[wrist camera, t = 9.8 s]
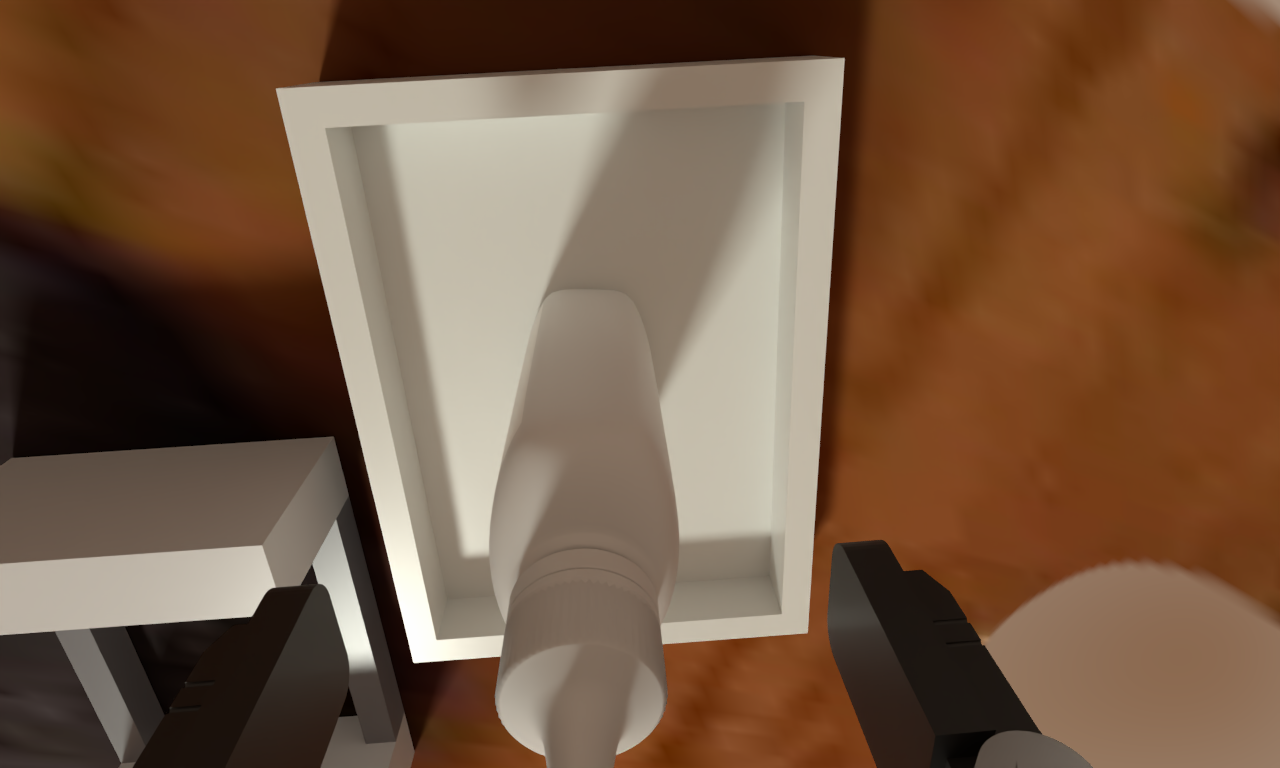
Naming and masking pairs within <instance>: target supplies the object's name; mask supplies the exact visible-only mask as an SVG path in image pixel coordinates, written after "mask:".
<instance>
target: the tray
mask: <svg viewBox="0 0 1280 768" xmlns="http://www.w3.org/2000/svg"><path fill="white" fill-rule="evenodd" d="M844 62H845V58H838V57H826V56H813V55H812V56H793V57H775V58H756V59H737V60H719V61H700V62H681V63H663V64H644V65H625V66H607V67H588V68H569V69H551V70H532V71H513V72H495V73H476V74H458V75H439V76H420V77H402V78H383V79H364V80H346V81H327V82H315V83H308V84H302V85H296V86H289V87H283V88H277V89H276V91H277V96H278V100H279V104H280V108H281V112H282V116H283V121H284V125H285V129H286V133H287V137H288V142H289V146H290V150H291V154H292V158H293V162H294V167H295V171H296V175H297V179H298V183H299V187H300V192H301V196H302V200H303V204H304V208H305V212H306V217H307V221H308V225H309V229H310V233H311V238H312V242H313V246H314V250H315V254H316V258H317V263H318V267H319V271H320V275H321V279H322V283H323V288H324V292H325V296H326V300H327V304H328V309H329V313H330V317H331V321H332V325H333V329H334V334H335V338H336V342H337V346H338V350H339V354H340V359H341V363H342V367H343V371H344V375H345V379H346V384H347V388H348V392H349V396H350V400H351V405H352V409H353V413H354V417H355V421H356V425H357V430H358V434H359V438H360V442H361V446H362V450H363V455H364V459H365V463H366V467H367V471H368V475H369V480H370V484H371V488H372V492H373V496H374V501H375V505H376V509H377V513H378V517H379V521H380V526H381V530H382V534H383V538H384V542H385V546H386V551H387V555H388V559H389V563H390V567H391V571H392V576H393V580H394V584H395V588H396V592H397V597H398V601H399V605H400V609H401V613H402V617H403V622H404V626H405V630H406V634H407V638H408V642H409V647H410V651H411V655H412V659H413V663H420V662H434V661H447V660H460V659H473V658H486V657H499V656H501V652H502V646H503V639H504V633H505V626H506V624H505V622H504V619H503V617H502V614H501V612H500V609H499V607H498V603H497V600H496V596H495V593H494V588H493V583H492V577H491V569H490V559H489V536H490V521H491V514H492V506H493V500H494V494H495V489H496V485H497V480H498V475H499V470H500V465H501V460H502V456H503V451H504V446H505V442H506V437H507V433H508V428H509V424H510V419H511V415H512V410H513V406H514V401H515V397H516V392H517V388H518V383H519V379H520V374H521V370H522V366H523V361H524V357H525V352H526V348H527V344H528V340H529V336H530V333H531V330H532V327H533V324H534V321H535V319H536V316H537V314H538V311H539V309H540V307H541V305H542V303H543V301H544V300H545V299H546V298H547V297H548V296H549V295H550V294H551V293H552V292H556V291H559V290H563V289H592V290H616V291H619V292H622V293H625V294H627V295H628V296H629V298H630V299H631V300H632V301H633V302H634V304H635V306H636V308H637V310H638V312H639V314H640V317H641V319H642V322H643V325H644V328H645V331H646V334H647V338H648V342H649V346H650V351H651V356H652V362H653V368H654V373H655V379H656V385H657V391H658V396H659V402H660V408H661V414H662V419H663V425H664V431H665V437H666V443H667V449H668V454H669V460H670V466H671V472H672V478H673V484H674V491H675V497H676V505H677V514H678V522H679V561H678V570H677V577H676V582H675V587H674V592H673V595H672V599H671V602H670V605H669V608H668V610H667V613H666V616H665V618H664V620H663V622H662V624H661V626H660V627H661V636H662V644H671V643H684V642H697V641H710V640H723V639H736V638H750V637H763V636H776V635H789V634H802V633H808V620H809V604H810V589H811V573H812V558H813V542H814V527H815V511H816V496H817V480H818V465H819V449H820V434H821V418H822V403H823V387H824V372H825V356H826V341H827V325H828V310H829V294H830V279H831V264H832V248H833V233H834V217H835V202H836V186H837V171H838V155H839V140H840V124H841V109H842V93H843V78H844Z"/></svg>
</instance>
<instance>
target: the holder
mask: <svg viewBox="0 0 1280 768" xmlns="http://www.w3.org/2000/svg"><path fill="white" fill-rule="evenodd" d="M312 563H313V567H314V570H315V574H316V577H317V580H318V584H323V585H324V586H325V587H326V588H327V590H328V592H329V594H330V598H331V601H332V604H333V608H334V611H335V614H336V618H337V621H338V624H339V628H340V631H341V634H342V638H343V641H344V644H345V648H346V651H347V655H348V659H349V685H348V686H349V689H350V692H351V696H352V699H353V702H354V706H355V709H356V713H357V716H347V717H339V718H338V721H337V724H336V726H335V729H334V732H333V735H332V737H331V740H330V743H329V746H328V748H327V751H326V754H325V757H324V759H323V762H322V765H321V768H411V764H412V760H413V756H414V752H415V751H414V748H413V744H412V740H411V736H410V732H409V728H408V724H407V720H406V716H405V712H404V709H403V705H402V701H401V697H400V693H399V689H398V685H397V681H396V677H395V673H394V670H393V666H392V662H391V658H390V654H389V650H388V646H387V642H386V638H385V634H384V631H383V627H382V623H381V619H380V615H379V611H378V607H377V603H376V599H375V595H374V591H373V588H372V584H371V580H370V576H369V572H368V568H367V564H366V560H365V556H364V552H363V549H362V545H361V541H360V537H359V533H358V529H357V525H356V521H355V517H354V513H353V510H352V506H351V502H350V498H349V494H348V490H347V486H346V482H345V478H344V474H343V471H342V467H341V463H340V459H339V455H338V451H337V447H336V443H335V439H334V437H319V438H304V439H289V440H274V441H259V442H244V443H230V444H215V445H200V446H185V447H170V448H155V449H140V450H125V451H110V452H95V453H81V454H66V455H51V456H36V457H21V458H11V459H10V460H8V461H7V462H5V463H4V464H3V465H1V466H0V635H8V634H21V633H35V632H49V631H55V632H56V634H57V636H58V638H59V640H60V642H61V644H62V646H63V648H64V650H65V652H66V654H67V656H68V658H69V660H70V662H71V664H72V666H73V668H74V670H75V672H76V674H77V676H78V678H79V680H80V682H81V684H82V685H83V687H84V689H85V691H86V693H87V695H88V697H89V699H90V701H91V703H92V705H93V707H94V709H95V711H96V713H97V715H98V717H99V719H100V721H101V723H102V725H103V727H104V729H105V731H106V733H107V735H108V737H109V739H110V741H111V743H112V745H113V747H114V749H115V751H116V753H117V755H118V757H119V759H120V761H121V763H122V764H121V765H120V767H119V768H133V766H134V764H135V763H136V761H137V759H138V758H139V756H140V755H141V753H142V751H143V750H144V748H145V746H146V745H147V743H148V742H149V740H150V738H151V737H152V735H153V734H154V732H155V730H156V729H157V727H158V725H159V724H160V722H161V721H162V719H163V717H164V716H165V715H164V713H163V710H162V708H161V706H160V704H159V702H158V699H157V697H156V695H155V693H154V690H153V688H152V686H151V684H150V682H149V679H148V677H147V675H146V673H145V670H144V668H143V666H142V664H141V662H140V659H139V657H138V655H137V653H136V651H135V648H134V646H133V644H132V642H131V639H130V637H129V635H128V633H127V631H126V628H125V626H130V625H144V624H157V623H171V622H184V621H198V620H211V619H225V618H238V617H252V616H253V614H254V612H255V611H256V609H257V607H258V605H259V604H260V602H261V600H262V598H263V597H264V595H265V594H266V592H267V591H268V590H270V589H271V588H276V587H288V586H300V585H301V583H302V581H303V579H304V577H305V575H306V574H307V572H308V570H309V568H310V566H311V564H312Z"/></svg>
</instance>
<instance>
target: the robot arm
mask: <svg viewBox="0 0 1280 768" xmlns="http://www.w3.org/2000/svg"><path fill="white" fill-rule="evenodd" d="M828 633H829V640H830V645H831V649H832V653H833V656H834V659H835V661H836V664H837V666H838V669H839V672H840V674H841V677H842V679H843V682H844V684H845V687H846V689H847V692H848V694H849V697H850V700H851V702H852V705H853V707H854V710H855V712H856V715H857V717H858V720H859V723H860V725H861V728H862V730H863V733H864V735H865V738H866V740H867V743H868V746H869V748H870V751H871V753H872V756H873V758H874V761H875V763H876V766H877V768H1093V767H1092V766H1091V765H1090V764H1089V763H1088V762H1087V761H1086V760H1085V759H1084V758H1083V757H1082V756H1081V755H1079V754H1078V753H1077V752H1075V751H1074V750H1073V749H1071V748H1070V747H1068V746H1066V745H1064V744H1063V743H1061V742H1059V741H1057V740H1055V739H1053V738H1050V737H1048V736H1044V735H1042V733H1041V732H1040V731H1039V729H1038V728H1037V726H1036V725H1035V723H1034V722H1033V720H1032V719H1031V717H1030V715H1029V714H1028V713H1027V711H1026V709H1025V708H1024V706H1023V705H1022V703H1021V701H1020V700H1019V698H1018V697H1017V695H1016V694H1015V692H1014V691H1013V689H1012V688H1011V686H1010V684H1009V683H1008V681H1007V680H1006V678H1005V677H1004V675H1003V674H1002V672H1001V670H1000V669H999V667H998V666H997V665H996V663H995V661H994V660H993V658H992V656H991V655H990V653H989V652H988V650H987V649H986V647H985V646H984V645H983V646H982V644H981V639H980V638H979V636H978V635H977V633H976V632H975V630H974V628H973V627H972V625H971V624H970V623H967V618H966V616H965V614H964V613H963V611H962V610H961V608H960V607H959V605H958V604H957V602H956V601H955V599H954V597H953V596H952V594H951V593H950V591H948V590H947V589H946V588H945V587H943V586H942V585H941V584H939V583H938V582H937V581H936V580H934V579H933V578H932V577H931V576H929V575H928V574H927V573H925V572H924V571H923V570H914V571H903V569H902V568H901V566H900V564H899V563H898V561H897V559H896V557H895V556H894V554H893V552H892V551H891V549H890V547H889V546H888V544H887V543H886V542H885V541H884V540H874V541H861V542H849V543H837V544H836V545H835V546H834V549H833V554H832V566H831V578H830V591H829V604H828ZM348 685H349V659H348V655H347V651H346V648H345V644H344V641H343V638H342V634H341V631H340V628H339V624H338V621H337V618H336V614H335V611H334V608H333V604H332V601H331V598H330V594H329V592H328V590H327V588H326V587H325V586H324V585H323V584H313V585H301V586H288V587H276V588H271V589H270V590H268V591H267V592H266V594H265V595H264V597H263V598H262V600H261V602H260V604H259V605H258V607H257V609H256V611H255V612H254V614H253V616H252V618H251V619H250V621H249V623H248V624H242V625H233V626H232V627H231V628H230V629H229V630H228V631H227V632H226V633H224V634H223V635H222V636H221V637H220V638H219V639H218V640H217V641H216V642H214V643H213V644H212V645H211V646H210V647H209V648H208V649H207V650H206V651H205V652H204V653H203V654H202V656H201V657H200V659H199V661H198V662H197V664H196V665H195V667H194V669H193V670H192V672H191V674H190V675H189V677H188V678H187V680H186V682H185V688H182V689H181V690H180V691H179V693H178V695H177V696H176V698H175V700H174V701H173V703H172V704H171V706H170V712H169V714H165V716H164V717H163V719H162V721H161V722H160V724H159V725H158V727H157V729H156V730H155V732H154V734H153V735H152V737H151V738H150V740H149V742H148V743H147V745H146V746H145V748H144V750H143V751H142V753H141V755H140V756H139V758H138V759H137V761H136V763H135V764H134V766H133V768H321V765H322V762H323V759H324V757H325V754H326V751H327V748H328V746H329V743H330V740H331V737H332V735H333V732H334V729H335V726H336V724H337V721H338V718H339V715H340V713H341V710H342V707H343V704H344V701H345V698H346V695H347V691H348Z"/></svg>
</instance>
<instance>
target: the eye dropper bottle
mask: <svg viewBox="0 0 1280 768" xmlns="http://www.w3.org/2000/svg"><path fill="white" fill-rule="evenodd" d="M489 559H490V569H491V577H492V583H493V588H494V593H495V596H496V600H497V603H498V607H499V609H500V612H501V614H502V617H503V619H504V622H505V624H506V626H505V633H504V639H503V646H502V652H501V659H500V665H499V672H498V678H497V685H496V693H495V698H496V701H495V704H496V706H497V708H496V710H497V712H498V713H499V715H498V717H499V718H500V719H501V720H502V721H501V723H502V724H503V725H504V726H505V729H506V730H507V731H508V732H509V733H510V734H511V735H512V736H513V737H514V738H515V739H516V740H517V741H519V742H520V743H521V744H523V745H524V746H525V747H527V748H529V749H530V750H532V751H534V752H536V753H539V754H541V755H544V756H545V757H546V764H547V768H614V762H615V757H616V755H617V754H620V753H622V752H625V751H627V750H628V749H630V748H632V747H634V746H635V745H637V744H638V743H640V742H641V741H642V740H643V739H645V738H646V737H647V736H648V735H649V734H650V733H651V732H652V731H653V730H654V729H655V728H656V725H657V724H658V723H659V722H660V719H661V718H662V717H663V712H664V711H665V706H666V704H667V697H668V695H667V682H666V672H665V663H664V654H663V645H662V636H661V627H660V626H661V624H662V622H663V620H664V618H665V616H666V613H667V610H668V608H669V605H670V602H671V599H672V595H673V592H674V587H675V582H676V577H677V570H678V561H679V522H678V514H677V505H676V497H675V491H674V484H673V478H672V472H671V466H670V460H669V454H668V449H667V443H666V437H665V431H664V425H663V419H662V414H661V408H660V402H659V396H658V391H657V385H656V379H655V373H654V368H653V362H652V356H651V351H650V346H649V342H648V338H647V334H646V331H645V328H644V325H643V322H642V319H641V317H640V314H639V312H638V310H637V308H636V306H635V304H634V302H633V301H632V300H631V299H630V298H629V296H628V295H627V294H625V293H622V292H619V291H616V290H592V289H563V290H559V291H556V292H552V293H551V294H550V295H549V296H548V297H547V298H546V299H545V300H544V301H543V303H542V305H541V307H540V309H539V311H538V314H537V316H536V319H535V321H534V324H533V327H532V330H531V333H530V336H529V340H528V344H527V348H526V352H525V357H524V361H523V366H522V370H521V374H520V379H519V383H518V388H517V392H516V397H515V401H514V406H513V410H512V415H511V419H510V424H509V428H508V433H507V437H506V442H505V446H504V451H503V456H502V460H501V465H500V470H499V475H498V480H497V485H496V489H495V494H494V500H493V506H492V514H491V521H490V536H489Z"/></svg>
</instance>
